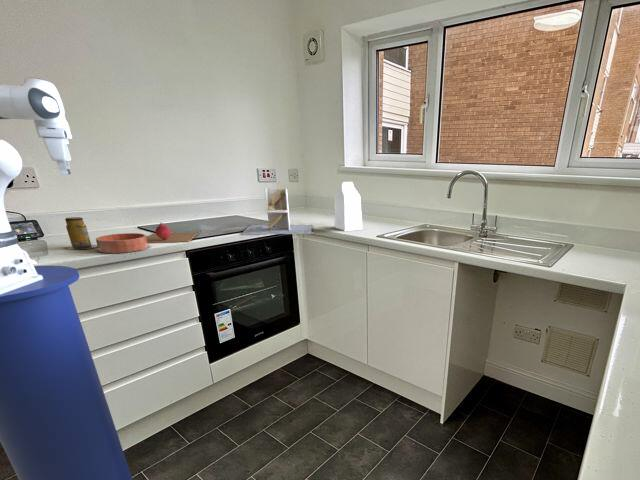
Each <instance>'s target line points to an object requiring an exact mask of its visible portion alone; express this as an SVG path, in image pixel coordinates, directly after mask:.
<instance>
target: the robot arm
mask: <svg viewBox="0 0 640 480" xmlns="http://www.w3.org/2000/svg"><path fill="white" fill-rule="evenodd" d="M0 120H28V121H29V120H30V121H31V120H32V121H33V124H34V126H35V129H36V133H37V136H38V138H41V139H42V140H43V142H44V145H45V147H46V150H47V152H48V154H49V156H50V158H51V160H52V161H53V162H56V164H57V166H58V169H59V171H60V174H61V175H62V176H69V175H71V174H72V172H71V168H70V167H71V165H70V162H71V161H72V156H71V153H70V149H69V146H68V145H69V144H70V142H69V140H73V135H72V132H71V128H70V125H69V122H68V121H67V119H66V110H65V107H64V103H63V100H62V98H61V96H60V93H59V90H58V89H57V87H56V85H55V84H54V83H52V82H51V81H49V80H45V79H41V78H37V77H26V78H23V84H20V85H17V84H16V85H15V84H12V85H11V84H3V83H1V84H0ZM22 170H23V160H22V157H21V155H20V153H19V152H18V150H16V148H15V147H14V146H12V144H10V143H9V142H7V141H6V140H4V139H0V294H3V293H6V292H9V291H11V290H14V289H17V288H20V287H22V286H25V285H28V284H31V283H33V282H36V281H39V280H42V279H43V277H42V275H38V274H37V273H36V270H35V268H34V266H35V265H37V261H35V260H33V259H31V258H30V256H29V254H28V252H27V251H25V250H24V249H22V248H21V246H19V244H18V243H19V239H18V236H17V234H16V232H15V230H13V229H12V226H11V225H10V222H9V218H8V215H7V212H6V208H5V203H4V202H5V193H6V190H7V188H8V186H9V184H10V183H11V182H12V181H13V180H14V179H15V178H17V177H18V176H19V175H20V174H21V172H22ZM34 264H35V265H34Z"/></svg>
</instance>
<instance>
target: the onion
mask: <svg viewBox="0 0 640 480" xmlns="http://www.w3.org/2000/svg"><path fill="white" fill-rule="evenodd" d="M171 233H172V230H171V229H170V227H169V226H168V225H166V224H164V223H163V221H161V222H160V223H159V225H157V227H156V228H155V234H157V236H158V237H159V238H161V239H163V240H167V239H168V238H169V237H170V235H171Z"/></svg>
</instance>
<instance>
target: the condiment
mask: <svg viewBox="0 0 640 480" xmlns="http://www.w3.org/2000/svg"><path fill="white" fill-rule="evenodd" d="M64 221H65V224H66V225H65V227H66V231H67V234H68V238H69V242H70V244H71V246H69V247H67V249H69V250H90V249H94V248H98V245H97V244H96V245H93V244H92V243H91V238H90V235H89V231H88V228H87V225H86V224H85V222H84V219H83V217H82V216H81V217H80V216H73V217H72V216H71V217H65V219H64Z"/></svg>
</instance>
